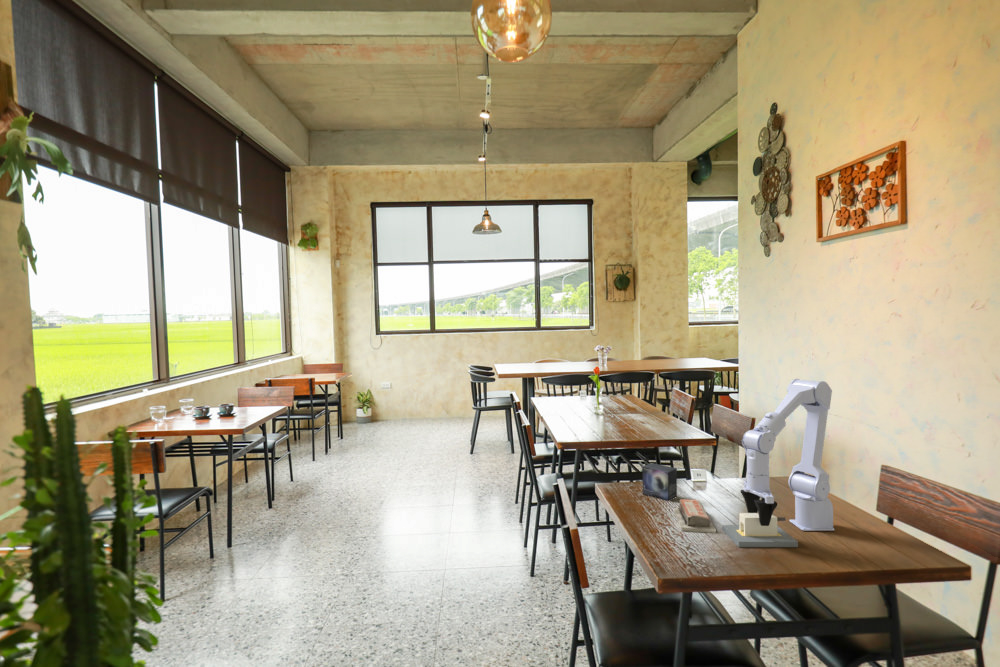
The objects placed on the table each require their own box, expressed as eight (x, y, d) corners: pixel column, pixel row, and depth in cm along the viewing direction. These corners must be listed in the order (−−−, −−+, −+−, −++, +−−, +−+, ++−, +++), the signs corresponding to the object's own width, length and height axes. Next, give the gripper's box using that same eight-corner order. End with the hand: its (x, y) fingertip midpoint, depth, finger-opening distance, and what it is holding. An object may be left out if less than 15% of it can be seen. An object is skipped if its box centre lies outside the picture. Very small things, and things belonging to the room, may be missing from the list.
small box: (641, 494, 193) (641, 465, 192) (651, 490, 197) (651, 462, 197) (668, 501, 185) (667, 471, 185) (677, 497, 189) (677, 467, 189)
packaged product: (672, 497, 176) (704, 498, 174) (673, 511, 176) (704, 513, 174) (680, 516, 158) (716, 518, 156) (681, 532, 158) (716, 534, 157)
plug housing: (781, 530, 154) (781, 512, 154) (788, 535, 150) (788, 517, 150) (739, 530, 154) (739, 513, 154) (745, 535, 151) (744, 517, 150)
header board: (776, 530, 158) (776, 518, 158) (798, 547, 146) (797, 534, 146) (722, 530, 159) (721, 518, 158) (738, 547, 147) (738, 534, 146)
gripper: (733, 466, 159) (734, 511, 160) (755, 480, 145) (755, 530, 145) (757, 466, 159) (757, 511, 159) (781, 480, 145) (781, 530, 145)
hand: (758, 520), depth 152 cm, fingers open, 7 cm apart
